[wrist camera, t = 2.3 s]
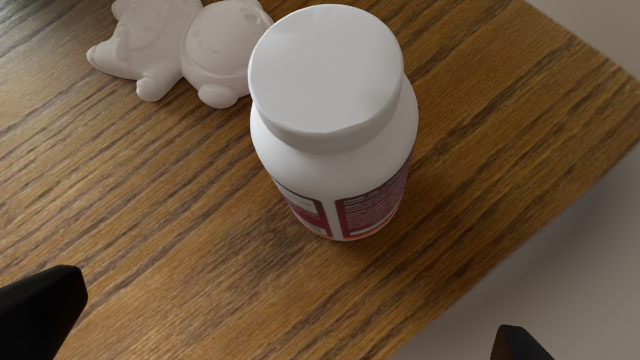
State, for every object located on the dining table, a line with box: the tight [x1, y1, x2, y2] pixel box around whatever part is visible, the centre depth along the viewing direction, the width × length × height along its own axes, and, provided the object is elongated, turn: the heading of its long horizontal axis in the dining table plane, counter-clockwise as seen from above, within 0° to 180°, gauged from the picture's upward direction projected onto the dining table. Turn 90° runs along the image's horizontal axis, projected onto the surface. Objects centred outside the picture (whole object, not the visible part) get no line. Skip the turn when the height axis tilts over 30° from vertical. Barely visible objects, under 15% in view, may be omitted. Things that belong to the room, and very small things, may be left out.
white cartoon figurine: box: [86, 0, 275, 109], centre depth 25 cm, size 9×12×3 cm
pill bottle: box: [248, 4, 418, 241], centre depth 17 cm, size 6×6×11 cm
